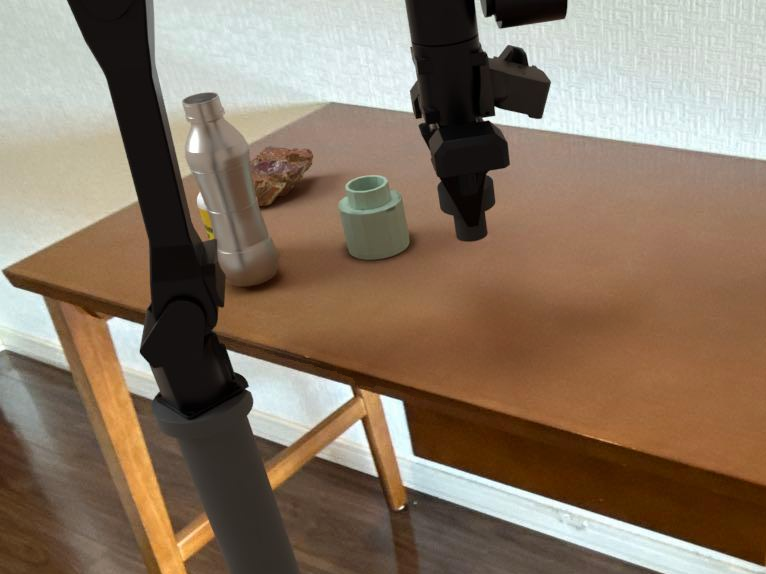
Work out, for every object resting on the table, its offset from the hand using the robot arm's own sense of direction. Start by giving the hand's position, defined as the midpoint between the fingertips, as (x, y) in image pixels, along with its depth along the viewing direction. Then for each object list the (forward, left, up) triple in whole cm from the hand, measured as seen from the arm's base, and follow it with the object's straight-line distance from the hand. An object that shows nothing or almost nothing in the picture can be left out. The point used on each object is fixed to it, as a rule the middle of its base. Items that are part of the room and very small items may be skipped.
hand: (468, 214), depth 96 cm
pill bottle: (-6, +35, -12) cm, 37 cm away
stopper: (0, 0, -2) cm, 2 cm away
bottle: (+6, +24, -12) cm, 27 cm away
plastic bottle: (-8, +29, -12) cm, 33 cm away
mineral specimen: (+9, +49, -12) cm, 51 cm away
